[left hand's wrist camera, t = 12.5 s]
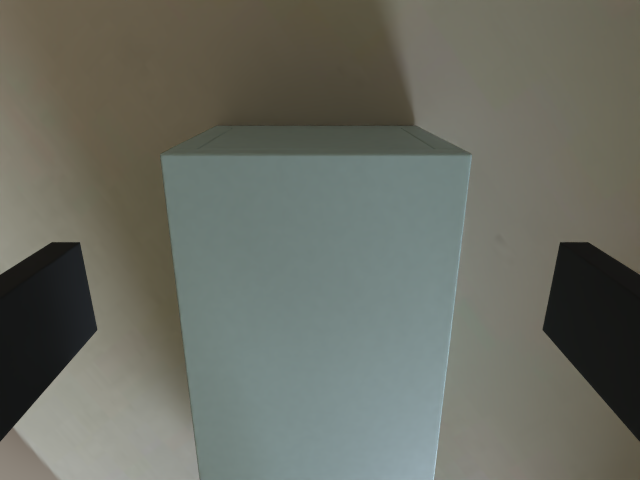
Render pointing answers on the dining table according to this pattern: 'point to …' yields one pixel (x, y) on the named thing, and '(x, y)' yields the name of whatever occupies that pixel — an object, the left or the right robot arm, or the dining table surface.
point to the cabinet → (316, 296)
